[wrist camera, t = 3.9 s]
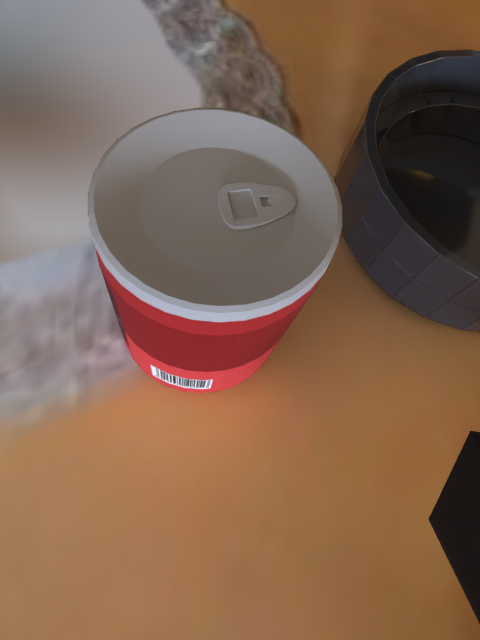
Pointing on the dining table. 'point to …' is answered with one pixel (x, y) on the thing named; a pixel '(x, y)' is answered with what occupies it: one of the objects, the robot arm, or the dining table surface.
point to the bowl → (419, 187)
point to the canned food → (210, 241)
